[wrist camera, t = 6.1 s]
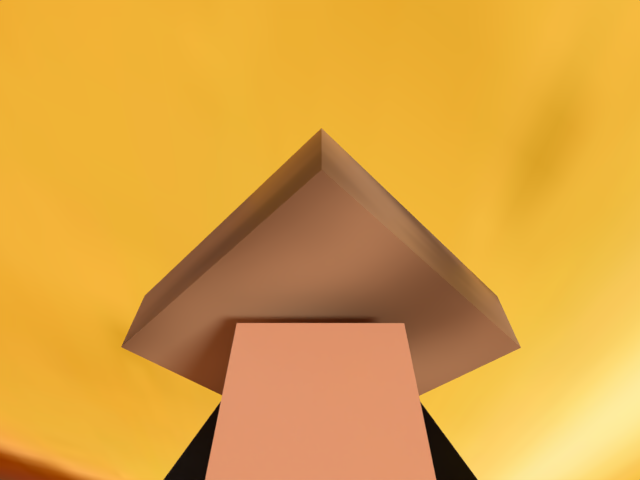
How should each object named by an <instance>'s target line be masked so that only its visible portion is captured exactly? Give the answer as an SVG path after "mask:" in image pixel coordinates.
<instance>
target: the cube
mask: <svg viewBox="0 0 640 480" xmlns="http://www.w3.org/2000/svg"><path fill="white" fill-rule="evenodd" d="M205 480H436V476H435V471H434V467H433V462H432V457H431V452H430V447H429V442H428V437H427V432H426V427H425V422H424V418H423V413H422V408H421V403H420V398H419V393H418V388H417V383H416V378H415V374H414V369H413V364H412V359H411V354H410V349H409V344H408V339H407V334H406V329H405V325H404V323H237V324H236V329H235V334H234V339H233V344H232V349H231V354H230V359H229V364H228V369H227V374H226V379H225V384H224V389H223V394H222V399H221V403H220V408H219V413H218V418H217V423H216V428H215V433H214V438H213V443H212V448H211V453H210V458H209V463H208V468H207V473H206V478H205Z"/></svg>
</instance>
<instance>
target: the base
mask: <svg viewBox="0 0 640 480" xmlns="http://www.w3.org/2000/svg"><path fill="white" fill-rule="evenodd" d="M237 323H404V325H405V329H406V334H407V339H408V344H409V349H410V354H411V359H412V364H413V369H414V374H415V378H416V383H417V388H418V393H419V396H420V395H422V394H424V393H426V392H428V391H431V390H433V389H435V388H437V387H439V386H441V385H443V384H445V383H447V382H450V381H452V380H454V379H456V378H458V377H460V376H462V375H464V374H467V373H469V372H471V371H473V370H475V369H477V368H479V367H481V366H483V365H486V364H488V363H490V362H492V361H494V360H496V359H498V358H500V357H502V356H505V355H507V354H509V353H511V352H513V351H515V350H517V349H519V348H521V346H520V344H519V342H518V340H517V338H516V336H515V333H514V331H513V329H512V327H511V325H510V323H509V320H508V318H507V316H506V314H505V312H504V310H503V307H502V305H501V303H500V301H499V299H498V297H497V295H496V294H495V293H494V292H493V291H491V290H490V289H489V288H488V287H487V286H486V285H485V284H484V283H483V282H482V281H481V280H480V279H479V278H478V277H477V276H476V275H475V274H474V273H473V272H472V271H471V270H469V269H468V268H467V267H466V266H465V265H464V264H463V263H462V262H461V261H460V260H459V259H458V258H457V257H456V256H455V255H454V254H453V253H452V252H451V251H450V250H449V249H448V248H446V247H445V246H444V245H443V244H442V243H441V242H440V241H439V240H438V239H437V238H436V237H435V236H434V235H433V234H432V233H431V232H430V231H429V230H428V229H427V228H426V227H425V226H423V225H422V224H421V223H420V222H419V221H418V220H417V219H416V218H415V217H414V216H413V215H412V214H411V213H410V212H409V211H408V210H407V209H406V208H405V207H404V206H403V205H401V204H400V203H399V202H398V201H397V200H396V199H395V198H394V197H393V196H392V195H391V194H390V193H389V192H388V191H387V190H386V189H385V188H384V187H383V186H382V185H381V184H380V183H378V182H377V181H376V180H375V179H374V178H373V177H372V176H371V175H370V174H369V173H368V172H367V171H366V170H365V169H364V168H363V167H362V166H361V165H360V164H359V163H358V162H357V161H355V160H354V159H353V158H352V157H351V156H350V155H349V154H348V153H347V152H346V151H345V150H344V149H343V148H342V147H341V146H340V145H339V144H338V143H337V142H336V141H335V140H334V139H332V138H331V137H330V136H329V135H328V134H327V133H326V132H325V131H324V130H323V129H322V128H321V129H320V130H319V131H318V132H317V133H316V134H315V135H314V136H313V137H311V138H310V139H309V140H308V141H307V142H306V143H305V144H304V145H303V146H302V147H301V148H300V149H299V150H298V151H297V152H296V153H295V154H294V155H292V156H291V157H290V158H289V159H288V160H287V161H286V162H285V163H284V164H283V165H282V166H281V167H280V168H279V169H278V170H277V171H276V172H275V173H273V174H272V175H271V176H270V177H269V178H268V179H267V180H266V181H265V182H264V183H263V184H262V185H261V186H260V187H259V188H258V189H257V190H256V191H255V192H253V193H252V194H251V195H250V196H249V197H248V198H247V199H246V200H245V201H244V202H243V203H242V204H241V205H240V206H239V207H238V208H237V209H236V210H234V211H233V212H232V213H231V214H230V215H229V216H228V217H227V218H226V219H225V220H224V221H223V222H222V223H221V224H220V225H219V226H218V227H217V228H215V229H214V230H213V231H212V232H211V233H210V234H209V235H208V236H207V237H206V238H205V239H204V240H203V241H202V242H201V243H200V244H199V245H198V246H196V247H195V248H194V249H193V250H192V251H191V252H190V253H189V254H188V255H187V256H186V257H185V258H184V259H183V260H182V261H181V262H180V263H179V264H177V265H176V266H175V267H174V268H173V269H172V270H171V271H170V272H169V273H168V274H167V275H166V276H165V277H164V278H163V279H162V280H161V281H160V282H158V283H157V284H156V285H155V286H154V287H153V288H152V289H151V290H150V291H149V292H148V293H147V294H146V295H145V296H144V298H143V300H142V303H141V305H140V307H139V309H138V311H137V313H136V316H135V318H134V320H133V322H132V324H131V326H130V329H129V331H128V333H127V335H126V337H125V340H124V342H123V344H122V346H121V347H122V348H124V349H126V350H128V351H130V352H132V353H134V354H136V355H139V356H141V357H143V358H145V359H147V360H149V361H151V362H153V363H155V364H157V365H160V366H162V367H164V368H166V369H168V370H170V371H172V372H174V373H176V374H178V375H180V376H183V377H185V378H187V379H189V380H191V381H193V382H195V383H197V384H199V385H201V386H203V387H206V388H208V389H210V390H212V391H214V392H216V393H218V394H220V395H222V394H223V389H224V384H225V379H226V374H227V369H228V364H229V359H230V354H231V349H232V344H233V339H234V334H235V329H236V324H237Z"/></svg>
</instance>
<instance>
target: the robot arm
mask: <svg viewBox="0 0 640 480" xmlns="http://www.w3.org/2000/svg"><path fill="white" fill-rule="evenodd" d="M220 403H221V402H220ZM220 403H219V404H218V406H217V407H216V408H215V410H214V411H213V413H212V414H211V415H210V417H209V418H208V419H207V421H206V422H205V423H204V425H203V426H202V428H201V429H200V430H199V432H198V433H197V434H196V436H195V437H194V438H193V440H192V441H191V443H190V444H189V445H188V447H187V448H186V449H185V451H184V452H183V453H182V455H181V456H180V458H179V459H178V460H177V462H176V463H175V464H174V466H173V467H172V468H171V470H170V471H169V473H168V474H167V475H166V477H165V478H164V479H163V480H205V478H206V473H207V468H208V463H209V458H210V453H211V448H212V443H213V438H214V433H215V428H216V423H217V418H218V413H219V408H220ZM420 403H421V402H420ZM421 408H422V413H423V418H424V422H425V427H426V432H427V437H428V442H429V447H430V452H431V457H432V462H433V467H434V471H435V476H436V480H478V479H477V478H476V476H475V475H474V474H473V472H472V471H471V470H470V468H469V467H468V466H467V464H466V463H465V462H464V460H463V459H462V457H461V456H460V455H459V453H458V452H457V451H456V449H455V448H454V447H453V445H452V444H451V442H450V441H449V440H448V438H447V437H446V436H445V434H444V433H443V432H442V430H441V429H440V428H439V426H438V425H437V423H436V422H435V421H434V419H433V418H432V417H431V415H430V414H429V413H428V411H427V410H426V409H425V407H424V406H423V404H422V403H421Z"/></svg>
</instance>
